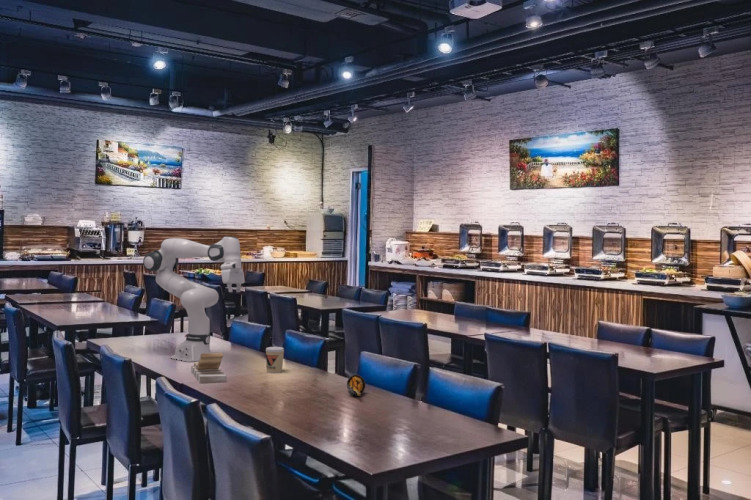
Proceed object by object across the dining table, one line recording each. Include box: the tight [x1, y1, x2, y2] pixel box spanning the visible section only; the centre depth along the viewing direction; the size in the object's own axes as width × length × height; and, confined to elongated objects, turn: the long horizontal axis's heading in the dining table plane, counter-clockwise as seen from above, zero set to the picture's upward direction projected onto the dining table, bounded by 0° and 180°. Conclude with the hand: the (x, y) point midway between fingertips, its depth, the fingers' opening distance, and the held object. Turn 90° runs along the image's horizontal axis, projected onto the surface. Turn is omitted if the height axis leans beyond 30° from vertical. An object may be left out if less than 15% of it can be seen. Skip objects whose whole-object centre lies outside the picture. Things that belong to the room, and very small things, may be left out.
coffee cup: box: [265, 346, 285, 374], centre depth 350 cm, size 9×9×12 cm
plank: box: [197, 352, 224, 370], centre depth 329 cm, size 13×10×2 cm
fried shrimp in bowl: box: [346, 374, 367, 397], centre depth 303 cm, size 9×11×18 cm
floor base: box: [190, 361, 227, 384], centre depth 333 cm, size 27×12×5 cm, turn 24°
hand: (234, 292), depth 363 cm, fingers open, 8 cm apart
